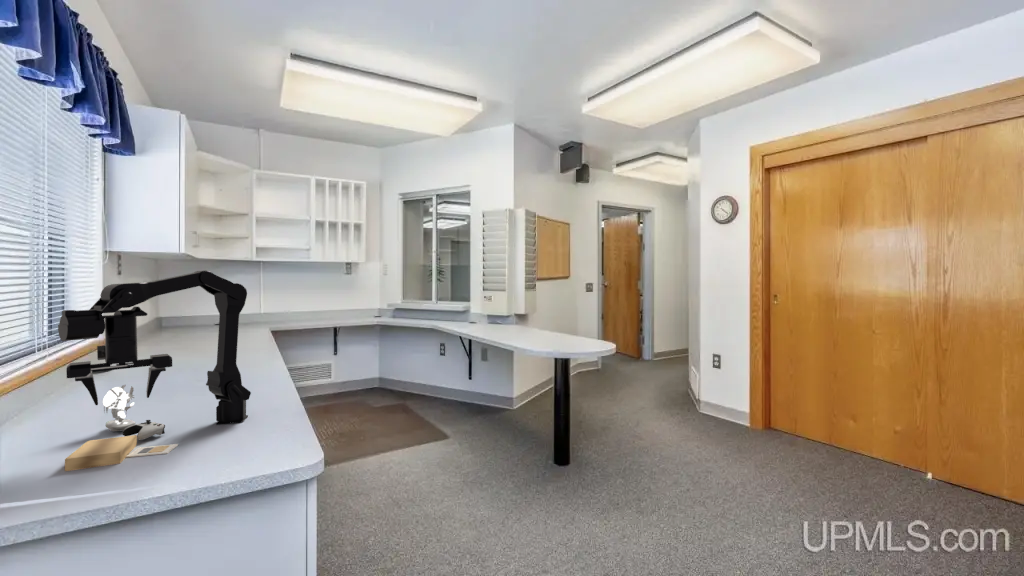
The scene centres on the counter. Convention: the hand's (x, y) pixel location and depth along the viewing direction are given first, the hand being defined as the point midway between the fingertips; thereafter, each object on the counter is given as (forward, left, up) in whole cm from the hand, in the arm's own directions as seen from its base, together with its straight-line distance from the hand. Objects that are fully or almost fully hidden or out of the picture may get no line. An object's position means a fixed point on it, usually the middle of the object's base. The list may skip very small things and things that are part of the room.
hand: (123, 401), depth 106 cm
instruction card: (-8, +4, -12) cm, 14 cm away
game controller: (0, -7, -12) cm, 14 cm away
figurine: (+9, -17, -12) cm, 23 cm away
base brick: (+1, +5, -12) cm, 13 cm away
